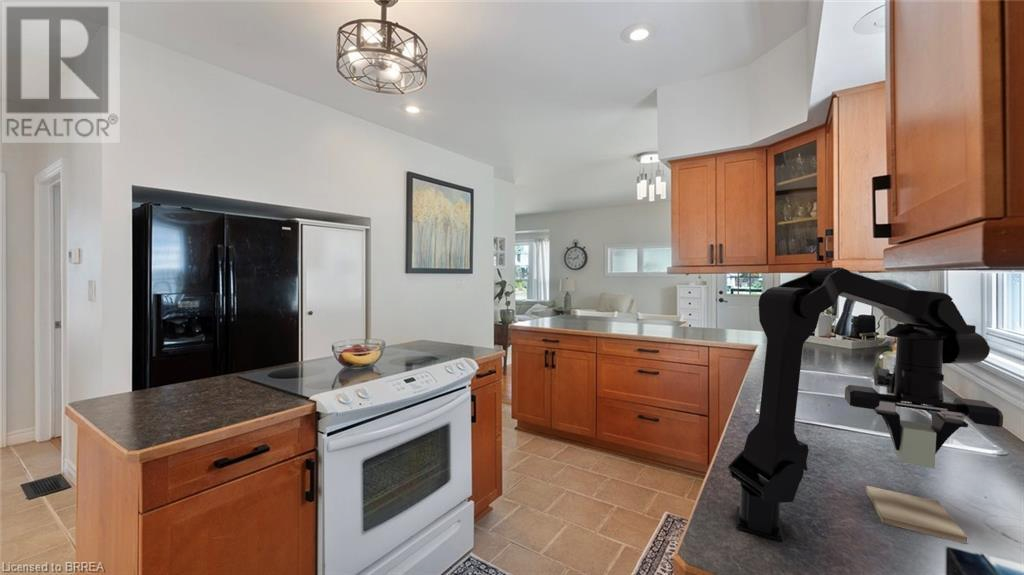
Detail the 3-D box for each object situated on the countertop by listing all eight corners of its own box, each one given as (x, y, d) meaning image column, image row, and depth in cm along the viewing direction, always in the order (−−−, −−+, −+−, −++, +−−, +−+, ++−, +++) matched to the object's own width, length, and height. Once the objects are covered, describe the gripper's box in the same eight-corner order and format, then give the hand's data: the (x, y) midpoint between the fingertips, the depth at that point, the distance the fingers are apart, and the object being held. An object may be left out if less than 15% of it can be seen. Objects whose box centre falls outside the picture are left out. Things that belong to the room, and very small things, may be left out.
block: (934, 468, 68) (936, 433, 68) (902, 462, 70) (903, 428, 70) (923, 457, 72) (925, 423, 72) (893, 451, 74) (895, 419, 74)
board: (967, 543, 64) (967, 537, 64) (882, 522, 69) (882, 517, 69) (937, 506, 74) (938, 501, 74) (865, 490, 79) (866, 485, 79)
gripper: (974, 362, 72) (969, 448, 73) (841, 350, 82) (837, 426, 83) (1007, 375, 63) (1001, 474, 63) (852, 360, 72) (848, 446, 73)
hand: (913, 452), depth 71 cm, fingers closed on block, 4 cm apart
